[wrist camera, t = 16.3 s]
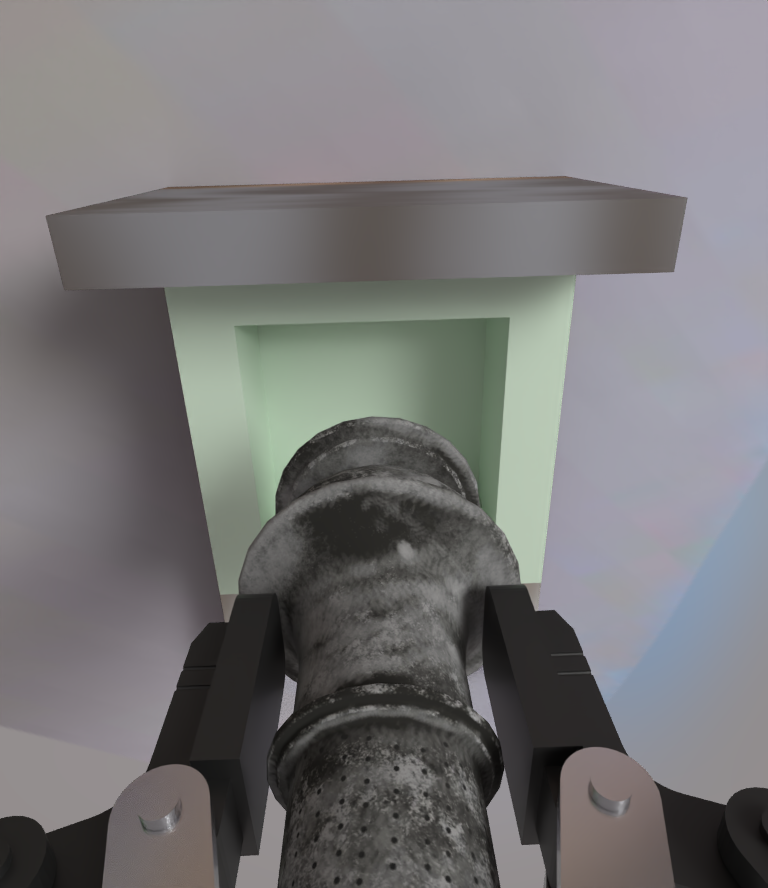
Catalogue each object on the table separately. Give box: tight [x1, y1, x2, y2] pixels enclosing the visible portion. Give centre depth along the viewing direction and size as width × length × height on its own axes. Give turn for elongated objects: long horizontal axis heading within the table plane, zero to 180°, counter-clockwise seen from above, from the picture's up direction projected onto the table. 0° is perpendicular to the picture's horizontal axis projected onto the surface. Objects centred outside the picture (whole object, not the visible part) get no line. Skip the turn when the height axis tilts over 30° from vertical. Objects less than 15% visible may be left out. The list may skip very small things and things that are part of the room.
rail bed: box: [46, 176, 687, 622], centre depth 22 cm, size 14×22×9 cm, turn 1°
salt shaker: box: [238, 416, 521, 888], centre depth 10 cm, size 6×6×12 cm
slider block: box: [164, 275, 576, 595], centre depth 21 cm, size 12×12×4 cm
